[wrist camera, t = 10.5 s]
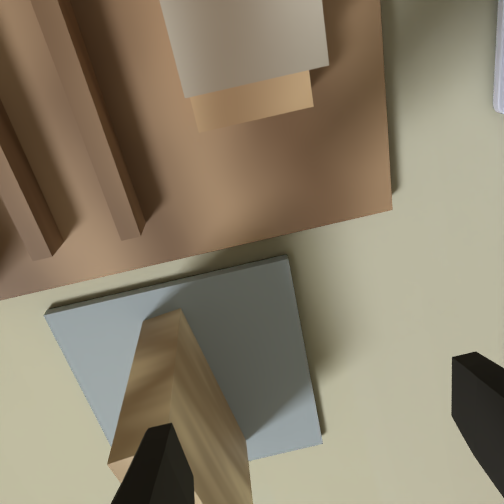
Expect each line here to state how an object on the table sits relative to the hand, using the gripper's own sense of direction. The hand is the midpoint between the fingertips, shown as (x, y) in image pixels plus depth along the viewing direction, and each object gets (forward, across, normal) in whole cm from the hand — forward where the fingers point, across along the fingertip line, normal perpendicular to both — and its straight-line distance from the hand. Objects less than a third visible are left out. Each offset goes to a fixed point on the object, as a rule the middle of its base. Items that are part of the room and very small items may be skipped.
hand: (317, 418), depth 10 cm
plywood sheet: (+10, +5, +7) cm, 13 cm away
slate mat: (+10, +5, +7) cm, 13 cm away
